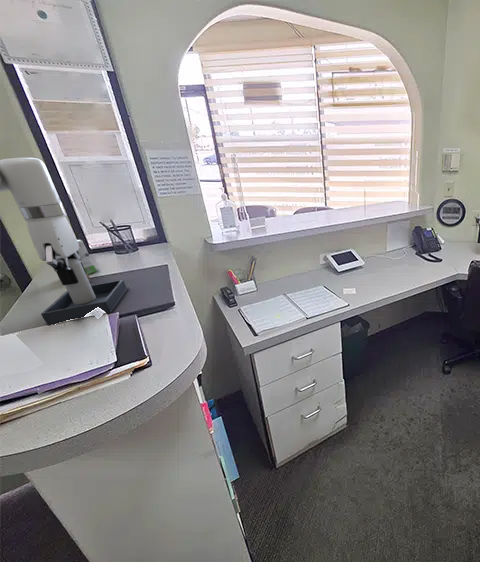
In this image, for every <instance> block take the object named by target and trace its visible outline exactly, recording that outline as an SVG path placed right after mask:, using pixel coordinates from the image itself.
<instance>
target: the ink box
mask: <svg viewBox="0 0 480 562" xmlns="http://www.w3.org/2000/svg"><path fill="white" fill-rule="evenodd" d="M77 242H78V244H79V249H78V252H79V256H80V258H81V262H82V264H83V266H84V269H85V271H86V273H87V274H88V275H89V274H93V273H97V272H98V270H97V268H96V265H95V264H94V262H93V259H92V258H91V255H90V253H89V252H88V249H87V247H86V246H85V244H84V242H83V240H82V239H77ZM55 257H56V259H57V258H62V257H60V256H55ZM61 261H62V260H61ZM58 262H59V261H58Z"/></svg>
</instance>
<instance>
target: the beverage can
mask: <svg viewBox="0 0 480 562" xmlns="http://www.w3.org/2000/svg"><path fill="white" fill-rule="evenodd" d="M59 262H62V263H63V260H62V261H59ZM68 262H69V265H70V269H72V268H73V270H74V272H75V275H76V277H77V279H78V281H79V282H78V283H76V284H70V285H64V287H65V289H66V291H68V293H69V295H70V297H71V299H72V301H73V303H74V304H76V305H85V304H89V303H91V302H93V301H94V300H95V299H96V296H95V294H94V292H93V289H92V287H91V285H92V284H91V283H90V280H89V281H88V278H87V276H86V274H85V272H84V269H83V267H82V265H81V263H80V261H78V259H68ZM63 264H64V263H63Z"/></svg>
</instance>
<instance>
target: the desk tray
mask: <svg viewBox="0 0 480 562" xmlns="http://www.w3.org/2000/svg"><path fill="white" fill-rule="evenodd" d="M90 285H91V287H92V289H93V292H94V294H95V296H96V299H95V300H94V301H93V302H91V303H89V304H85V305H76V304H74V303H73V301H72V299H71V297H70V295H69V293H68V291H67V290H66V291H65V292H64V293H63V294H62V295H60V296H59V297H58V298H57V299H56V300H55V301H54V302H53V303H52V304H50V305H49V306H48V307H47V308H46V309H45V310H44V311H43V312H41V313H40V315H41V317H42V318H43V320H44V322H45V323H46V325H47V326H51V324H53V325H57V324H56V323H58V324H60V323H59V322H63V321H66V320H70V319H75V318H81V317H84V316H85V315H86V314H87V313H89V312H91V311H92V310H94V309H95V308H97V307H99V308H101V309H102V310H104V311H105V312H106V313H107V314H111V313H112V312H113V311H114V309H116V308H115V307H116V306H117V305H118V303H120V301H121V299H122V298H123V297H124V295H125V293H126V292H127V291H128V288H127V286H126V283H125V280H124V279H118V280H113V281H112V280H111V281H106V282H102V283H101V282H100V283H95V284H90ZM63 323H64V322H63Z"/></svg>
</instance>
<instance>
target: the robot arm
mask: <svg viewBox="0 0 480 562" xmlns="http://www.w3.org/2000/svg"><path fill="white" fill-rule="evenodd" d="M6 191H7V192H8V191H10V193H11V196H12V197H13V199H14V200H15V203H16V205H17V207H18V210H19V212H20V214H21V215H22V218H23V219H24V222H26V227H27V230H28V233H29V236H30V239H31V241H32V244H33V246H34V250H35V251H36V253H37V255H38V257H39V260H41V261H42V262H46V264H47V265H48V266H50V267H51V268H53V271H54V272H56V275H57V277H58V279H59V281H60V283H61V285H62V286H65V285H70V284H76V283H78V282H79V281H78V279H77V277H76V275H75V272H74V270H73V268H72V269H70V265H69V262H68V259H78V261H80V263H81V265H82V267H83V269H84V266H83V264H82V262H81V258H80V256H79V252H78V249H79V244H78V242H77V240H78V239H77V237H76V235H75V233H74V230H73V228H72V227H71V225H70V223H69V221H68V219H67V218H66V217H67V216H68V214H67V212H66V209H65V207H64V205H63V202H62V201H61V197H60V196H59V194H58V192H57V189H56V187H55V184H54V182H53V180H52V177H51V175H50V173H49V171H48V168H47V166H46V164H45V162H44V161H42V160H41V159H39V158H36V157H14V158H13V157H12V158H3V159H0V193H1V192H6ZM55 256H60V257H62V258H57V259H56V257H55ZM61 260H63V263H64V264H63V263H62V262H58V261H61ZM84 272H85V274H86V275H87V273H86V271H85V269H84Z"/></svg>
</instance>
